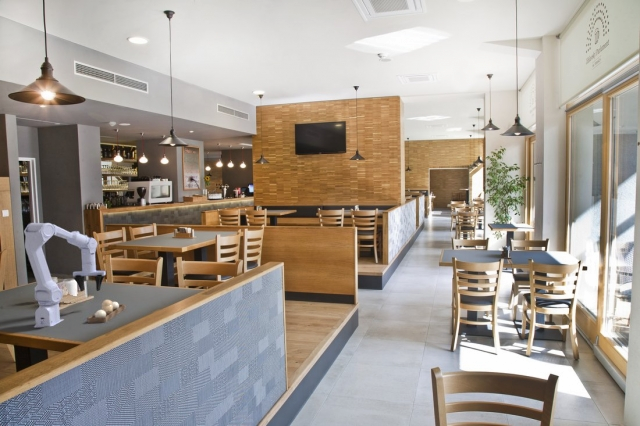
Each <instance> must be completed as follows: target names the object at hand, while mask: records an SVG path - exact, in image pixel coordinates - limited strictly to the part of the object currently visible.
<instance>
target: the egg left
mask: <svg viewBox="0 0 640 426" xmlns="http://www.w3.org/2000/svg"><path fill="white" fill-rule="evenodd" d="M94 314H95V318H97V317H106V312H105V311H104V310H102V309H99V310H97V311H96V312H95V313H94Z"/></svg>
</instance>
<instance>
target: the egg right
mask: <svg viewBox="0 0 640 426" xmlns="http://www.w3.org/2000/svg"><path fill="white" fill-rule="evenodd" d="M112 304H113V309H116V308H119V305H120V304H119V303H118V302H117V301H112Z"/></svg>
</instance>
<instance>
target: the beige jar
mask: <svg viewBox="0 0 640 426" xmlns="http://www.w3.org/2000/svg"><path fill="white" fill-rule="evenodd" d="M112 302H113V301H112V300H110V299H105V300H103V301H102V303H101V310H104V311H105V312H106V313H112V312H113V304H112Z"/></svg>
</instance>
